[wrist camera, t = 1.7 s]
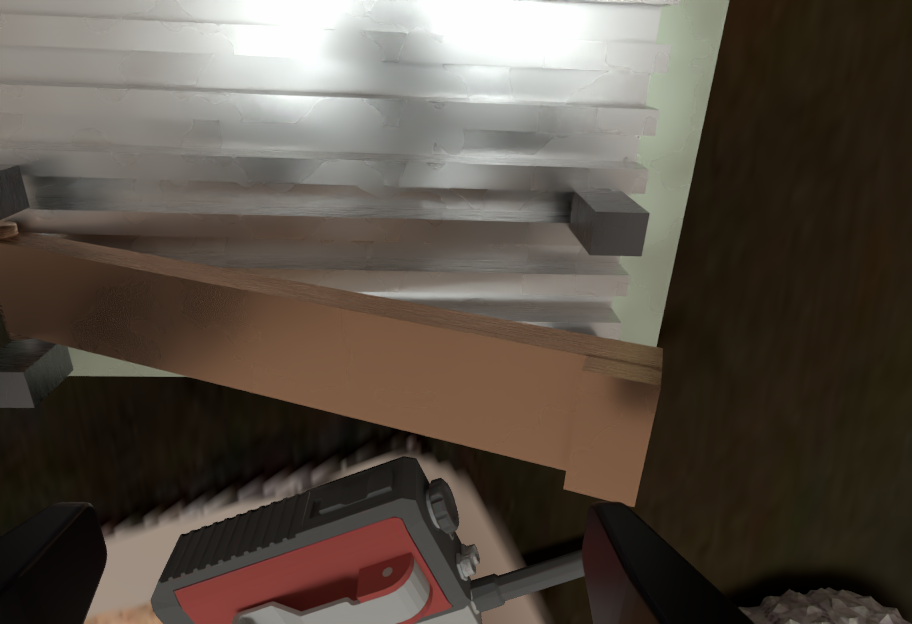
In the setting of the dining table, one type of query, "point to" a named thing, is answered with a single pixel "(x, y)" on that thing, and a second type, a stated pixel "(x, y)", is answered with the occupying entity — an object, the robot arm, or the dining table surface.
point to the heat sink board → (363, 149)
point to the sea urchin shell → (822, 609)
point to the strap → (348, 354)
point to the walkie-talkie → (344, 560)
